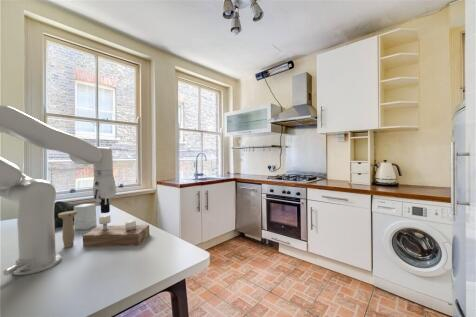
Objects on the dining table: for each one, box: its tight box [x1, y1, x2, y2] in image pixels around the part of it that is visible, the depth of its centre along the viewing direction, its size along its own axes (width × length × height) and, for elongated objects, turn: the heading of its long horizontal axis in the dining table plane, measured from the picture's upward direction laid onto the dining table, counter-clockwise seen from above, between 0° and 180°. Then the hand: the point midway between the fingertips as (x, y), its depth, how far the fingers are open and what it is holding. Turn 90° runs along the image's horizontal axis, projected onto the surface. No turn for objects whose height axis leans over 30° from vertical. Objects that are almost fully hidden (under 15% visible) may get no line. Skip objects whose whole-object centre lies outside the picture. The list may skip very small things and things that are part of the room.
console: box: [82, 224, 150, 248], centre depth 95 cm, size 12×24×5 cm, turn 91°
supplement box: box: [73, 203, 98, 231], centre depth 114 cm, size 7×7×13 cm
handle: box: [58, 211, 77, 248], centre depth 90 cm, size 5×6×15 cm
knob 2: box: [124, 219, 137, 231], centre depth 95 cm, size 4×4×8 cm
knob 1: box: [98, 214, 111, 231], centre depth 95 cm, size 4×4×8 cm
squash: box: [54, 200, 76, 228], centre depth 119 cm, size 14×15×15 cm
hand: (105, 212), depth 95 cm, fingers closed
